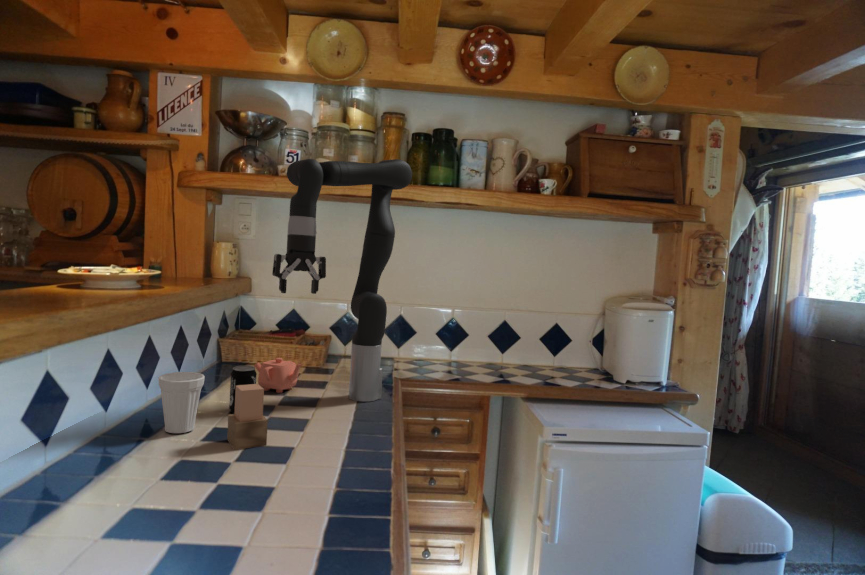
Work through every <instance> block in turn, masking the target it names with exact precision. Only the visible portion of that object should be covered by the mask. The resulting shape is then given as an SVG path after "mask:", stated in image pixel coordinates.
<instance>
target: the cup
mask: <svg viewBox="0 0 865 575" xmlns="http://www.w3.org/2000/svg"><path fill="white" fill-rule="evenodd" d="M205 379H206V378H205V375H204V373H200V372H192V371H178V372H176V371H175V372H169V373H164V374H161V375H160V376H159V377H158V386H159V389H160V393H161V394H160V396H161V404H162V411H163V412H162V413H163V419H164V420H163V422H164V430H165V432H167V433H170V434H183V433H184V434H185V433H188V432H191V431H193V430H194V429H195V424H196V420H197V419H196V418H197V411H198V406H199V402H200V396H201V391H202V388H203V387H204V384H205Z"/></svg>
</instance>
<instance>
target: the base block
mask: <svg viewBox="0 0 865 575" xmlns="http://www.w3.org/2000/svg"><path fill="white" fill-rule="evenodd" d="M268 423H269V422H268V419H267V417H266V416H265V415H263V419H260V420H251V421H243V422H240V421H239V420H238V419H237V418H236V417H235V416H234V413H232V414H228V415H227V432H226V433H227V437H226V438H227V442H228V443H229V444H230V446H231V447H232V449H233V450H234V451H235V450H244V449H250V448H257V447H264V446H267V443H268V442H267V441H268Z"/></svg>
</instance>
